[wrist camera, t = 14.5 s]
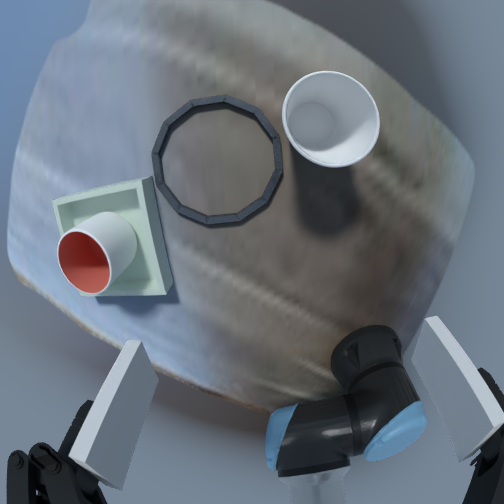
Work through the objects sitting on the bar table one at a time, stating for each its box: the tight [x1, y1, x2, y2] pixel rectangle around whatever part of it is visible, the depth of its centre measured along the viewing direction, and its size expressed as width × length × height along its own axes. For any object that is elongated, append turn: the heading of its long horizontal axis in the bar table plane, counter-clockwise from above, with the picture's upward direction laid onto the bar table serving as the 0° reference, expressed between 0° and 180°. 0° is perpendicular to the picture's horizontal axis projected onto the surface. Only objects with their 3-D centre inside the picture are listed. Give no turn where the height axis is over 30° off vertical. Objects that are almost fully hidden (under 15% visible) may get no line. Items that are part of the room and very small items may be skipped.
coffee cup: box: [282, 71, 380, 168], centre depth 29 cm, size 10×10×12 cm
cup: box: [57, 212, 137, 295], centre depth 37 cm, size 10×10×10 cm
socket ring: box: [151, 95, 283, 224], centre depth 37 cm, size 18×18×1 cm
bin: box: [52, 176, 173, 296], centre depth 41 cm, size 18×18×4 cm
